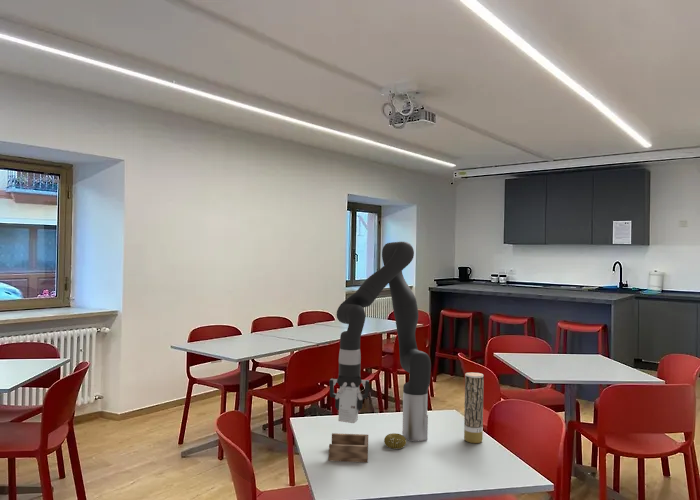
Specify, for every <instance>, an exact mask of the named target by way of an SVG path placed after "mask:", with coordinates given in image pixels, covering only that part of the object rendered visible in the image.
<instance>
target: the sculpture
mask: <svg viewBox="0 0 700 500" xmlns="http://www.w3.org/2000/svg"><path fill="white" fill-rule="evenodd" d="M383 443H384V445H385V446H386V447H387V448H389V449H393V450H399V449H403V448H404V447H405V446H406V444H407V440H406V439H405V437H404V436H403V435H402V434H400V433H394V432H393V433H388V434H386V435H385V437H384V440H383Z"/></svg>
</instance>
